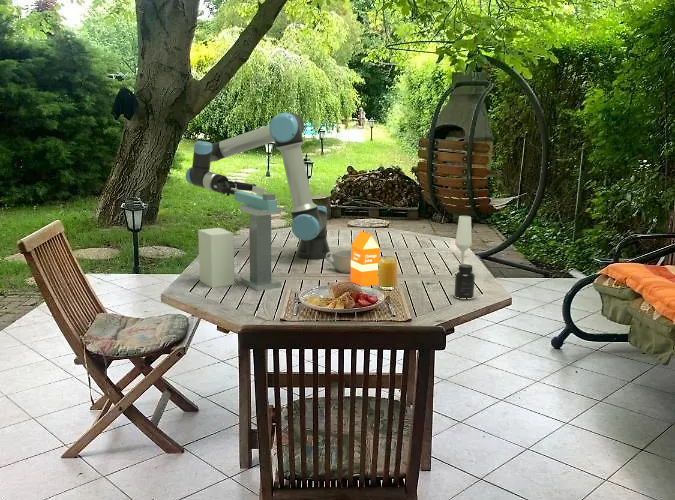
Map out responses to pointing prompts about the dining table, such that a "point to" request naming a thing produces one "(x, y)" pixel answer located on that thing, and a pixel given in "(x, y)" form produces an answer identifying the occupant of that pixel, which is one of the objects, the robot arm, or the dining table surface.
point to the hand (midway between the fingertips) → (254, 193)
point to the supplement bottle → (464, 282)
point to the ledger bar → (257, 200)
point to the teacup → (341, 260)
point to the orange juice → (364, 260)
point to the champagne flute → (463, 235)
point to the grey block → (216, 257)
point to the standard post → (260, 248)
